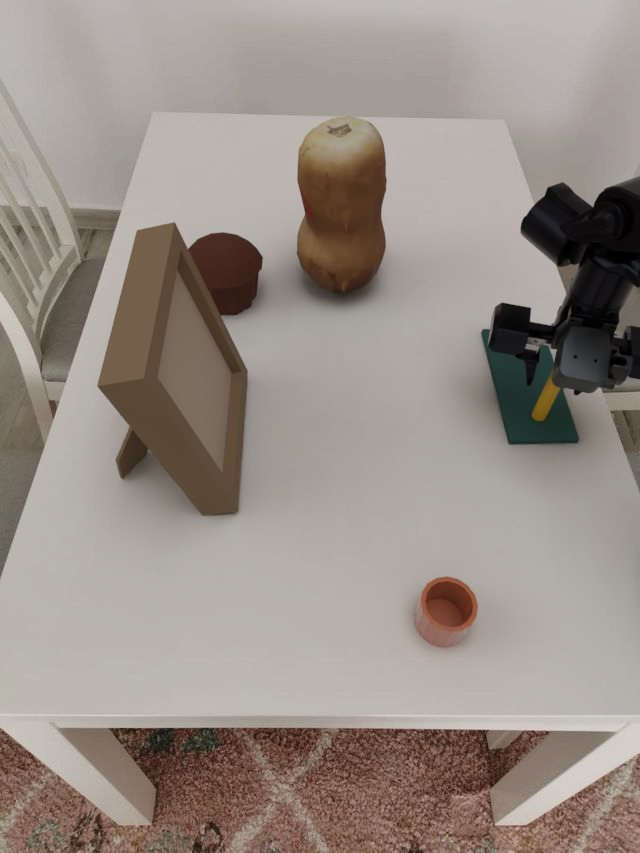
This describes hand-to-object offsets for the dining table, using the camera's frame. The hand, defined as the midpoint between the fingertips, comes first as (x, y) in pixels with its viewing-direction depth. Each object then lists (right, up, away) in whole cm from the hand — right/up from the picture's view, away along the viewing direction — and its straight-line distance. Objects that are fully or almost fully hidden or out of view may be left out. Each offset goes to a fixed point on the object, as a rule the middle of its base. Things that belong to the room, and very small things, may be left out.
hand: (551, 388), depth 77 cm
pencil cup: (-16, -26, -11) cm, 32 cm away
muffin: (-43, +15, +19) cm, 49 cm away
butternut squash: (-25, +18, +21) cm, 38 cm away
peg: (0, -3, +5) cm, 6 cm away
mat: (0, +1, +9) cm, 9 cm away
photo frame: (-46, -7, +3) cm, 47 cm away
